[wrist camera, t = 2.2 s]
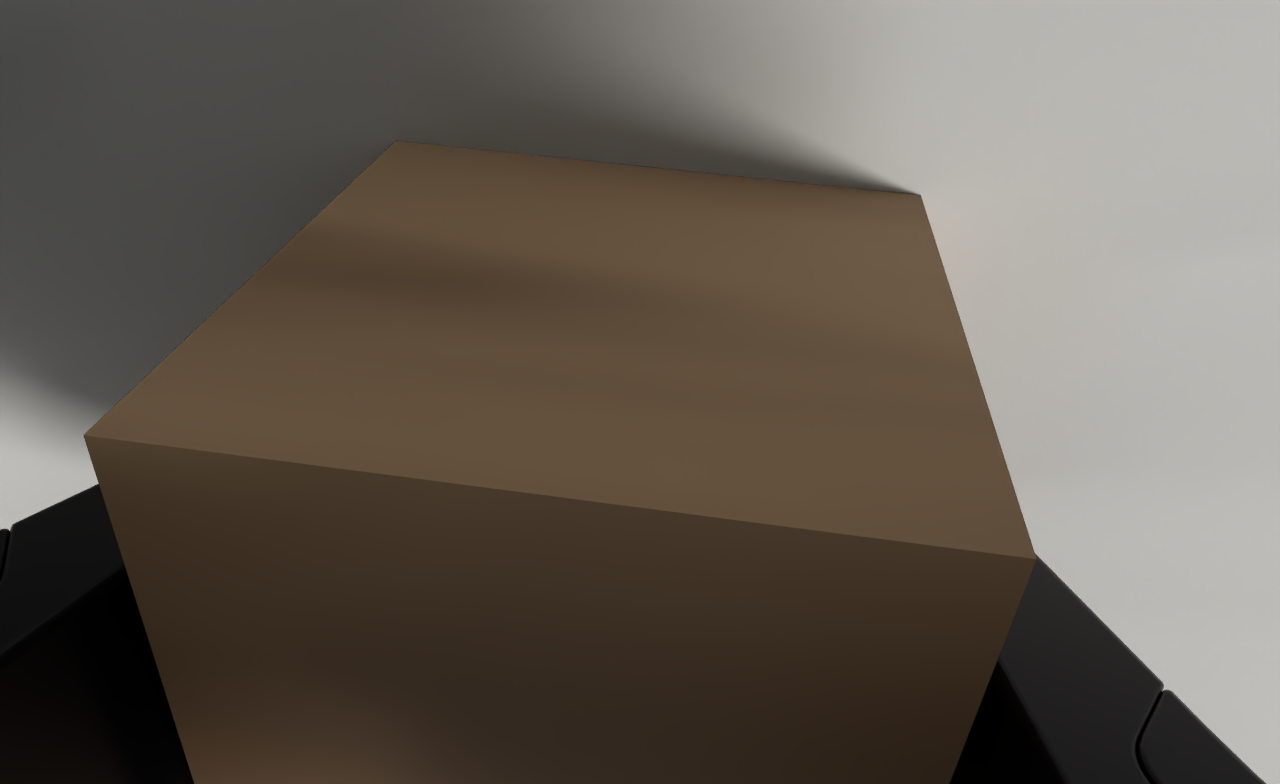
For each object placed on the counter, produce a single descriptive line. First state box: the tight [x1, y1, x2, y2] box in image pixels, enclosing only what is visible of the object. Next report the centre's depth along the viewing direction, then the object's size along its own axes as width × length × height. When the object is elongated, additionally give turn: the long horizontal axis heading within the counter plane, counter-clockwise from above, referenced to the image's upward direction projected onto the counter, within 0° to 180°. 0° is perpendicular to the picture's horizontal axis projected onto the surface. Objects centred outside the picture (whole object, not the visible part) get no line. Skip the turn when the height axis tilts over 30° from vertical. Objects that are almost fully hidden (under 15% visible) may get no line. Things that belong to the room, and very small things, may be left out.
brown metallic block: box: [84, 141, 1036, 784], centre depth 8 cm, size 5×5×5 cm
